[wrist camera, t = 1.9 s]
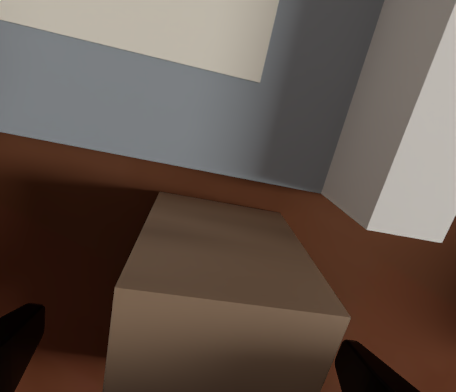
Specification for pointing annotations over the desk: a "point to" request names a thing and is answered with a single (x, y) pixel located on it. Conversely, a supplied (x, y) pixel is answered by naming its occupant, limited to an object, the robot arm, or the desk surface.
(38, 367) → the desk surface
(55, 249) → the desk surface
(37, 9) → the corner arena
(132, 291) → the walnut block
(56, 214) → the desk surface
